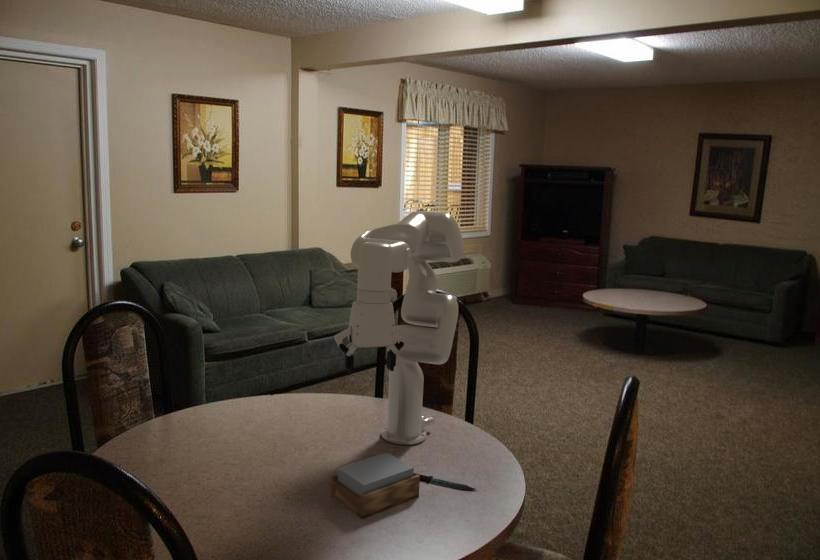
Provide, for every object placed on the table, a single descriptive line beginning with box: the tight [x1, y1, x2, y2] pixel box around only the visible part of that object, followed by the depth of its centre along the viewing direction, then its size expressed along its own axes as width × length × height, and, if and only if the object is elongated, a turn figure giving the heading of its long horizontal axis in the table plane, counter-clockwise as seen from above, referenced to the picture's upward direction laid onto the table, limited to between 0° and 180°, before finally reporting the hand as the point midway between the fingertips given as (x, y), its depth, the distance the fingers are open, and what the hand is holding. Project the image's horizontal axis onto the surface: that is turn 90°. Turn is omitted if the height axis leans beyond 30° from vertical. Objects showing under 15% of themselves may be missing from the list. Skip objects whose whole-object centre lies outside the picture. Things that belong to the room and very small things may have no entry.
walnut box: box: [330, 472, 421, 520], centre depth 146 cm, size 16×12×5 cm
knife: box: [413, 472, 476, 491], centre depth 155 cm, size 21×1×3 cm
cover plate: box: [337, 452, 415, 496], centre depth 146 cm, size 14×10×3 cm
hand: (370, 370), depth 148 cm, fingers open, 9 cm apart
